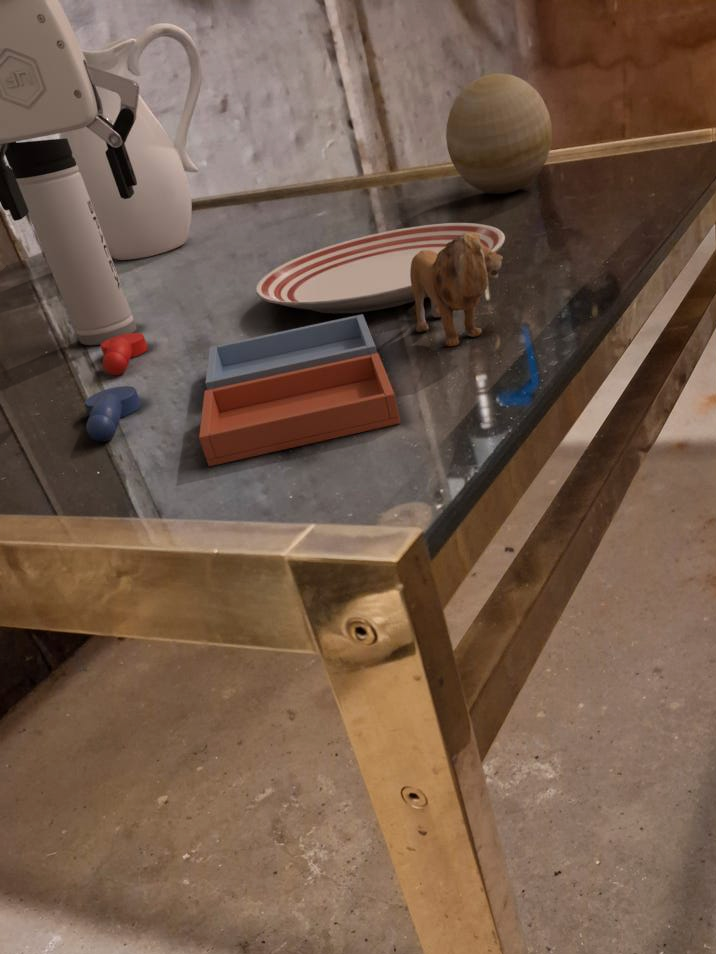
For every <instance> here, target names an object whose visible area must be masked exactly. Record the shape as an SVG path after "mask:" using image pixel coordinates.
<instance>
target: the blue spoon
mask: <svg viewBox="0 0 716 954" xmlns="http://www.w3.org/2000/svg"><path fill="white" fill-rule="evenodd" d="M84 405H85V408H86V410H87V412H88V415H89V417H88V418H87V421H86V428H85V429H86V432H87V434H88V435H89V437H90V438H91V439H93V440H94V441H96V442H100V443H103V442H104V443H105V442H108V441H110V440H112V439H113V437H114V436H115V435H116V432H117V430H118V429H117V428H118V426H119V422H120V419H121V418H123V417H126V416H129V415H131V414H133V413H135V412H136V411H138V410H139V409H141V406H142V402H141V400H140V397H139V395H138V392H137V389H136V387H134V386H130V385H125V386H124V385H123V386H116V387H115V386H114V387H111V388H108V389H104V390H101V391H98V392H96V393H94V394H92V395H90V396H89V397H87V398H86V399H85V401H84Z"/></svg>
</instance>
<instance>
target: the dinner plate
mask: <svg viewBox="0 0 716 954" xmlns="http://www.w3.org/2000/svg"><path fill="white" fill-rule="evenodd" d="M468 233H475V234H479V235H480V241H481V243H482V244H483V245H484V246H486V247H488V248H489V250H490V251H492V252H494V253H496V254H498V251H500V249H501V248H502V247H503V245H504V243H505V241H506V236H505V234H504V232H503V231H501V230H500V229H499V228H497V227H494V226H491V225H488V224H487V225H486V224H481V223H472V222H471V223H469V222H449V223H433V224H425V225H419V226H418V225H417V226H411V227H404V228H398V229H394V230H388V231H383V232H378V233H374V234H370V235H369V234H368V235H365V236H360V237H357V238H354V239H349V240H345V241H342V242H338V243H335V244H332V245H329V246H325V247H322V248H320V249H317V250H314V251H312V252H309V253H306V254H304V255H301V256H299V257H296V258H294V259H291V260H289V261H287V262H285V263H283V264H281V265H279V266H277V267H276V268H274V269H272V270H271V271H270V272H268V273H267V274H266V275H264V276H263V277H262V278H261V279H260V280H259V281H258V282H257V284H256V286H255V293H256V296H257V297H258V298H259V299H261V300H262V301H265V302H268V303H271V304H275V305H279V306H280V305H281V306H284V307H288V308H293V309H299V310H308V311H309V310H310V311H313V312H317V313H322V314H356V313H366V312H373V311H378V310H379V311H380V310H385V309H389V308H396V307H399V306H403V305H406V304H410V303H414V302H415V298H414V293H413V290H412V285H411V278H410V269H411V262H412V259H413V258H414V256H415V255H416V254H418V253H419V252H420V251H422V250H430V251H434V252H436V253H437V254H438V253H439V252H440V251H441V250H442V249H444V248H446V245H447V243H449V242H451V241H452V240H454V239H455V238H457V237H459V236H460V235H462V234H468ZM426 298H429V297H428V295H427V293H426V291H425V294H424V299H426Z"/></svg>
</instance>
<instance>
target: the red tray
mask: <svg viewBox="0 0 716 954" xmlns="http://www.w3.org/2000/svg"><path fill="white" fill-rule="evenodd" d="M398 409H399V408H398V404H397V400H396V395H395V392H394V389H393V387H392V384H391V382H390V380H389V377H388V375H387V372H386V370H385V367H384V364H383V361H382V359H381V357H380V354H379V353H378V352H377V353H375V354H371V355H366V356H361V357H357V358H352V359H347V360H343V361H338V362H334V363H329V364H325V365H320V366H315V367H311V368H306V369H302V370H297V371H292V372H288V373H283V374H279V375H274V376H270V377H265V378H260V379H256V380H251V381H247V382H242V383H238V384H233V385H228V386H224V387H219V388H215V389H210V390H207V389H206V390H204V392H203V400H202V409H201V410H202V411H201V418H200V425H199V433H198V439H199V442H200V445H201V448H202V451H203V454H204V457H205V459H206V463H207V465H208V467H213V466H217V465H222V464H226V463H230V462H235V461H240V460H244V459H248V458H252V457H257V456H261V455H266V454H271V453H275V452H279V451H283V450H288V449H293V448H297V447H301V446H306V445H310V444H315V443H319V442H323V441H328V440H332V439H333V440H334V439H338V438H341V437H346V436H350V435H355V434H359V433H364V432H368V431H373V430H377V429H381V428H385V427H391V426H395V425H399V424H401V418H400V413H399V410H398Z"/></svg>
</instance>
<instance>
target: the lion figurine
mask: <svg viewBox="0 0 716 954" xmlns="http://www.w3.org/2000/svg"><path fill="white" fill-rule="evenodd" d="M503 259H504V257H503V256H502V255H501V254H498V253H494V252H492V251H490V250H489V248H488V247H486V246H484V245H483V244H482V243H481V241H480V235H479V234H475V233H468V234H462V235H460V236H459V237H457V238H455V239H454V240H452V241H451V242H449V243H447V245H446V248H444V249H442V250H441V251H440V252H439V253H438V254H437V253H436V252H434V251H430V250H422V251H420V252H419V253H418V254H416V255H415V256H414V258H413V259H412V262H411V269H410V278H411V285H412V290H413V293H414V298H415V301H414V302H415V303H414V304H413V305H412V306H411V307H410V308H409V309H407V311H406V312H407V314H409V315H414V314H416V320H417V321H416V322H417V323H416V328H415V329H416V332H417V333H422V332H425V331H428V330H429V324H428V323H427V321H426V316H425V315H426V314H425V311H426V310H425V307H424V300H425V298H424V294H425V291H426V293H427V295H428V297H427V298H429V299H430V310H431V314H432V317H434V318H440V319H441V324H442V326H443V331H444V336H445V345H446V347H455V346H458V345H459V344H460V340H459V335H458V332H457V331H456V329H455V325H454V319H453V318H454V317H453V313H454V311H456V312H458V311H463V314H464V325H463V326H464V332H465V334H466V335H467V336H469V337H472V338H475V337H479V336H480V335H481V334H482V328H480V327H476V326H475V312H476V311H475V310H476V306H477V305H478V304H479V302H480V297H481V296H482V294H484V293H485V292H486V290H488V286H489V279H492V280H498V278H499V270H500V269H501V267H502V261H503Z"/></svg>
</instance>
